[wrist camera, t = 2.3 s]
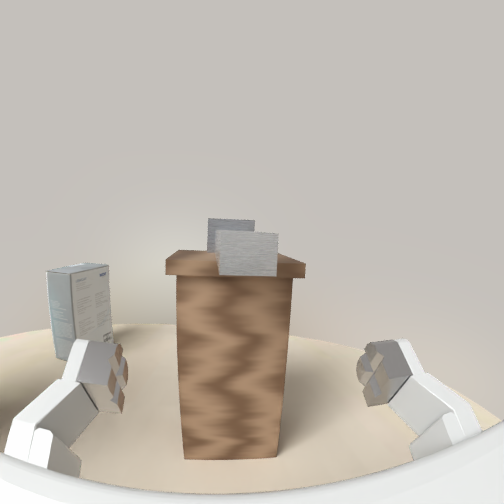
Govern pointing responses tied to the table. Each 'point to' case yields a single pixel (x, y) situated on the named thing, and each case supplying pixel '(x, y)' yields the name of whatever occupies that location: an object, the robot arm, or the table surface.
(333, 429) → the table surface
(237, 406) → the walnut stand
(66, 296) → the hard drive box
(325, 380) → the table surface
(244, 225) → the link bar
